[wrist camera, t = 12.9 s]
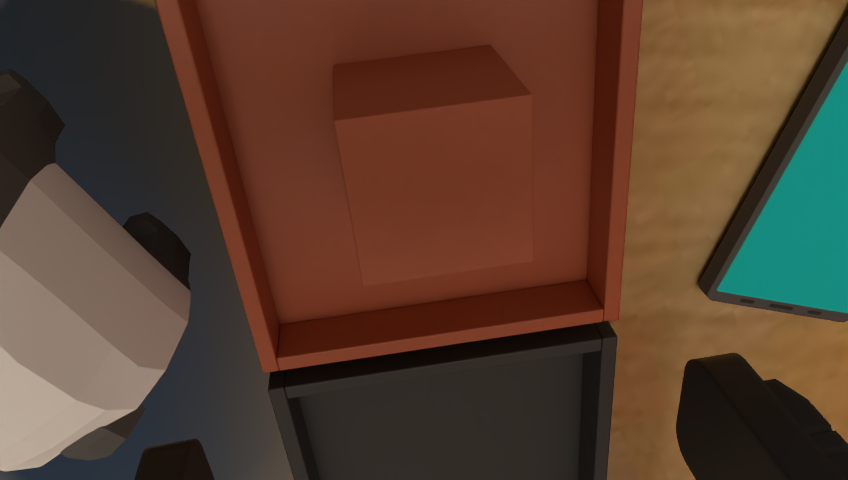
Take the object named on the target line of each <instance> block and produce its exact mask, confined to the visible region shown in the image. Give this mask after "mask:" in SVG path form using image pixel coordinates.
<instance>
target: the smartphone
mask: <svg viewBox="0 0 848 480" xmlns="http://www.w3.org/2000/svg"><path fill="white" fill-rule="evenodd" d="M699 288H700V289H701V290H702V291H703V292H704V294H705V295H706V296H707V297H708V298H709V299H710V300H712V301H718V302H724V303H730V304H736V305H742V306H748V307H754V308H760V309H766V310H772V311H778V312H784V313H790V314H795V315H801V316H807V317H813V318H819V319H825V320H831V321H837V322H846V321H848V14H847V16H846V18H845V20H844V22H843V23H842V25H841V27H840V29H839V31H838V32H837V34H836V36H835V38H834V40H833V42H832V43H831V45H830V47H829V49H828V51H827V52H826V54H825V56H824V58H823V60H822V61H821V63H820V65H819V67H818V69H817V70H816V72H815V74H814V76H813V78H812V79H811V81H810V83H809V85H808V87H807V88H806V90H805V92H804V94H803V96H802V97H801V99H800V101H799V103H798V105H797V107H796V108H795V110H794V112H793V114H792V116H791V117H790V119H789V121H788V123H787V125H786V126H785V128H784V130H783V132H782V134H781V135H780V137H779V139H778V141H777V143H776V144H775V146H774V148H773V150H772V152H771V153H770V155H769V157H768V159H767V161H766V163H765V164H764V166H763V168H762V170H761V172H760V173H759V175H758V177H757V179H756V181H755V182H754V184H753V186H752V188H751V190H750V191H749V193H748V195H747V197H746V199H745V200H744V202H743V204H742V206H741V208H740V209H739V211H738V213H737V215H736V217H735V218H734V220H733V222H732V224H731V226H730V228H729V229H728V231H727V233H726V235H725V237H724V238H723V240H722V242H721V244H720V246H719V247H718V249H717V251H716V253H715V255H714V256H713V258H712V260H711V262H710V264H709V265H708V267H707V269H706V271H705V273H704V274H703V276H702V278H701V280H700V282H699Z"/></svg>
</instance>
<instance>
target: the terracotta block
mask: <svg viewBox="0 0 848 480" xmlns="http://www.w3.org/2000/svg"><path fill="white" fill-rule="evenodd" d="M333 110H334V127H335V133H336V139H337V145H338V150H339V156H340V162H341V168H342V173H343V179H344V185H345V190H346V196H347V202H348V208H349V213H350V219H351V225H352V231H353V236H354V242H355V248H356V253H357V259H358V265H359V271H360V276H361V282H362V286H370V285H377V284H384V283H391V282H397V281H404V280H411V279H418V278H425V277H431V276H438V275H445V274H452V273H458V272H465V271H472V270H479V269H486V268H492V267H499V266H506V265H513V264H520V263H526V262H533V261H534V184H533V95H532V94H531V93H530V91H529V90H528V89H527V88H526V86H525V85H524V84H523V83H522V82H521V80H520V79H519V78H518V77H517V76H516V74H515V73H514V72H513V71H512V70H511V68H510V67H509V66H508V65H507V64H506V62H505V61H504V60H503V59H502V58H501V56H500V55H499V54H498V53H497V52H496V50H495V49H494V48H493V47H492V46H491V45H487V46H479V47H472V48H464V49H456V50H448V51H440V52H433V53H425V54H417V55H409V56H401V57H394V58H386V59H378V60H370V61H362V62H355V63H347V64H339V65H334V66H333Z"/></svg>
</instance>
